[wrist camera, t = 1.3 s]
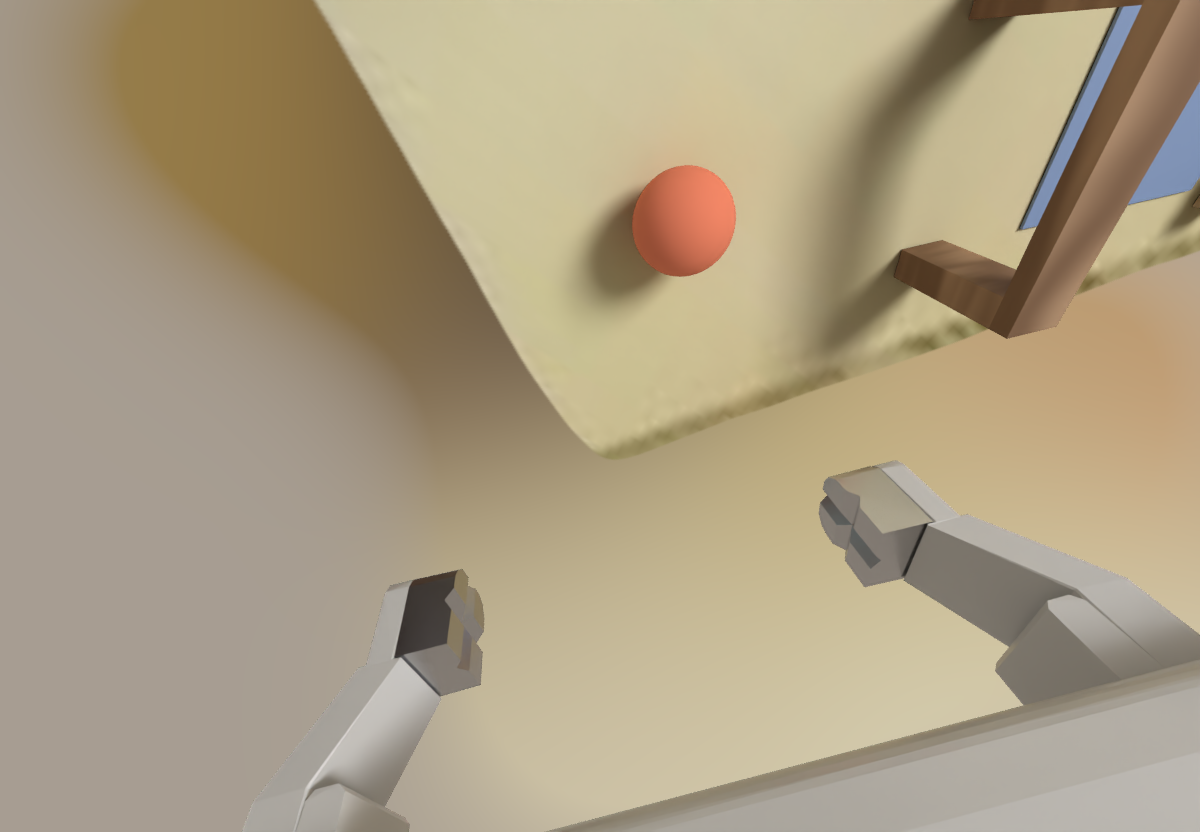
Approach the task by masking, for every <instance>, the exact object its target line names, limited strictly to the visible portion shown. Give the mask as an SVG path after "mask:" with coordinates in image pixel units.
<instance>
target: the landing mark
mask: <svg viewBox="0 0 1200 832" xmlns="http://www.w3.org/2000/svg"><path fill="white" fill-rule="evenodd" d="M1141 6H1142V5H1137V6H1125V7H1119V9H1118V11H1117V13H1116V16H1115V18H1114V20H1113V22H1112V25H1111V27H1110V29H1109V31H1108V33H1107V36H1106V38H1105V40H1104V42H1103V45H1102V47H1101V49H1100V51H1099V53H1098V56H1097V58H1096V60H1095V62H1094V64H1093V67H1092V69H1091V71H1090V73H1089V76H1088V78H1087V80H1086V82H1085V84H1084V87H1083V89H1082V91H1081V93H1080V96H1079V98H1078V100H1077V102H1076V104H1075V107H1074V109H1073V111H1072V113H1071V116H1070V118H1069V120H1068V122H1067V124H1066V127H1065V129H1064V131H1063V133H1062V136H1061V138H1060V140H1059V142H1058V144H1057V147H1056V149H1055V151H1054V153H1053V156H1052V158H1051V160H1050V162H1049V164H1048V167H1047V169H1046V171H1045V173H1044V176H1043V178H1042V180H1041V182H1040V184H1039V187H1038V189H1037V191H1036V193H1035V195H1034V198H1033V200H1032V202H1031V204H1030V207H1029V209H1028V211H1027V213H1026V215H1025V218H1024V220H1023V222H1022V224H1021V227H1020V229H1026V228H1031V227H1035V226H1038V223H1039V221H1040V219H1041V217H1042V215H1043V213H1044V211H1045V209H1046V207H1047V204H1048V202H1049V200H1050V198H1051V196H1052V194H1053V192H1054V190H1055V188H1056V185H1057V183H1058V181H1059V179H1060V177H1061V175H1062V173H1063V171H1064V169H1065V166H1066V164H1067V162H1068V160H1069V158H1070V156H1071V154H1072V152H1073V150H1074V148H1075V145H1076V143H1077V141H1078V139H1079V137H1080V135H1081V133H1082V131H1083V129H1084V126H1085V124H1086V122H1087V120H1088V118H1089V116H1090V114H1091V112H1092V110H1093V107H1094V105H1095V103H1096V101H1097V99H1098V97H1099V95H1100V93H1101V91H1102V88H1103V86H1104V84H1105V82H1106V80H1107V78H1108V76H1109V74H1110V72H1111V69H1112V67H1113V65H1114V63H1115V61H1116V59H1117V57H1118V55H1119V53H1120V50H1121V48H1122V46H1123V44H1124V42H1125V40H1126V38H1127V36H1128V34H1129V31H1130V29H1131V27H1132V25H1133V23H1134V21H1135V19H1136V17H1137V15H1138V13H1139V10H1140V8H1141ZM1199 177H1200V82H1199V84H1198V85H1197V87H1196V89H1195V91H1194V92H1193V94H1192V96H1191V97H1190V99H1189V101H1188V103H1187V104H1186V106H1185V108H1184V109H1183V111H1182V113H1181V115H1180V116H1179V118H1178V120H1177V121H1176V123H1175V125H1174V126H1173V128H1172V130H1171V132H1170V133H1169V135H1168V137H1167V138H1166V140H1165V142H1164V144H1163V145H1162V147H1161V149H1160V150H1159V152H1158V154H1157V156H1156V157H1155V159H1154V161H1153V162H1152V164H1151V166H1150V167H1149V169H1148V171H1147V173H1146V174H1145V176H1144V178H1143V179H1142V181H1141V183H1140V185H1139V186H1138V188H1137V190H1136V191H1135V193H1134V195H1133V197H1132V198H1131V200H1130V202H1129V203H1128V205H1129V204H1133V203H1138V202H1142V201H1146V200H1150V199H1155V198H1159V197H1163V196H1167V195H1172V194H1176V193H1180V192H1185V191H1189V190H1191V189H1192V188H1193V186H1194V185H1195V183H1196V182H1197V180H1198V179H1199Z"/></svg>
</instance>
